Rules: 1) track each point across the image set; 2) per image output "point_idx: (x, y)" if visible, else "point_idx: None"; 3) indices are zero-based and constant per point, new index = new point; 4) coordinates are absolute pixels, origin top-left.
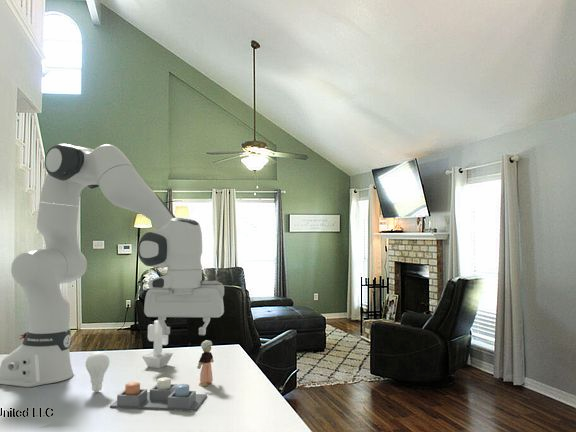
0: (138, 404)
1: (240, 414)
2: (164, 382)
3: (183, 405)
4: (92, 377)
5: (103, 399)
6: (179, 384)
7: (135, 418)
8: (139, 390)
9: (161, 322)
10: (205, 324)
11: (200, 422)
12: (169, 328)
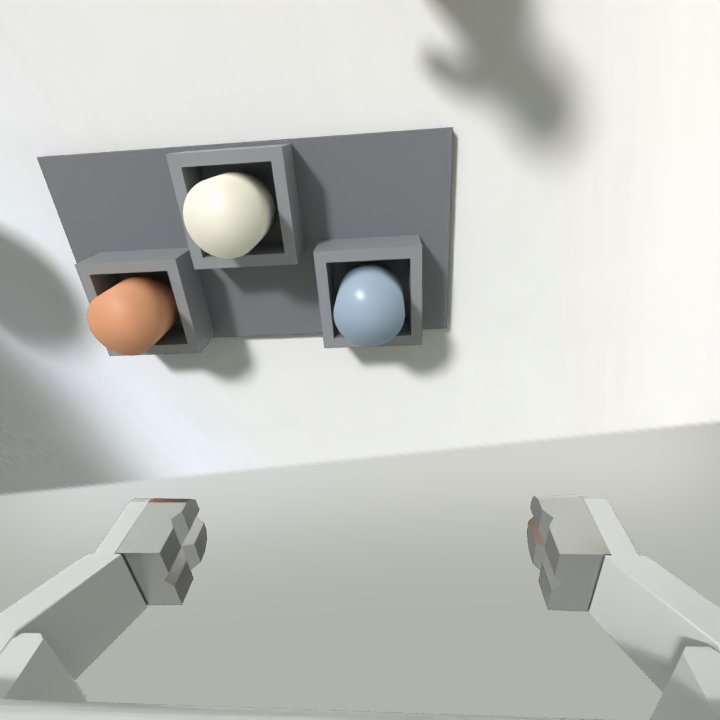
0: (211, 337)
1: (630, 330)
2: (245, 252)
3: None
4: None
5: (10, 257)
6: (345, 292)
7: (261, 410)
8: (166, 310)
9: (76, 676)
10: (663, 668)
11: (486, 412)
12: (172, 554)
